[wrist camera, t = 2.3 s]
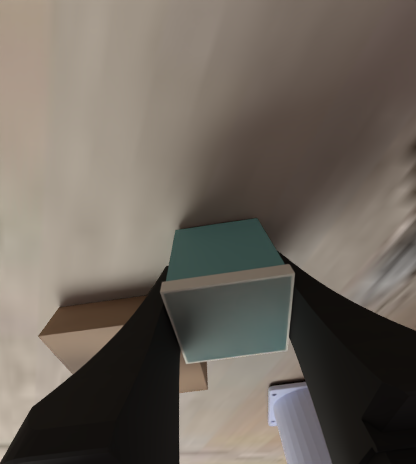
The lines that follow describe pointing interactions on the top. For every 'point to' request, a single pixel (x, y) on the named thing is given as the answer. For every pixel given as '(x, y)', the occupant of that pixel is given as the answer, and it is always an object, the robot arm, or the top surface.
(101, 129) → the top surface
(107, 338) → the walnut block
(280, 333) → the teal tin
